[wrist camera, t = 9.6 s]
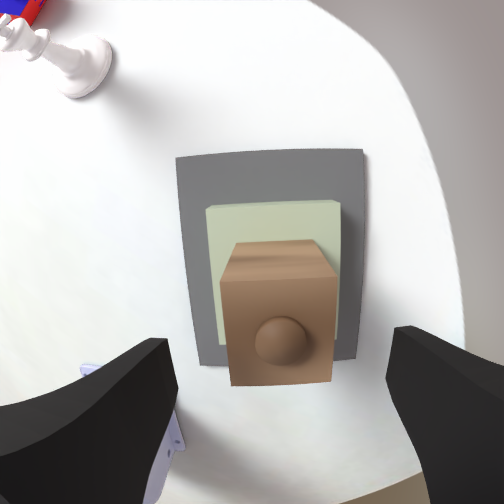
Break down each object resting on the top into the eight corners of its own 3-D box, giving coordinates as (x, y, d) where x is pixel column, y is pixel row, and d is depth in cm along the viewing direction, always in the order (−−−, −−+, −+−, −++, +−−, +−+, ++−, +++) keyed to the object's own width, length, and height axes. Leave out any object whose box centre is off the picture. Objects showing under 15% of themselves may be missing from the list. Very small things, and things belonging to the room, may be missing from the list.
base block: (330, 324, 19) (336, 339, 17) (223, 328, 20) (219, 344, 18) (332, 199, 17) (340, 203, 15) (212, 205, 18) (205, 209, 16)
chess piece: (50, 69, 16) (-44, 39, 6) (97, 25, 15) (15, -31, 6) (71, 111, 17) (-35, 91, 7) (123, 65, 16) (30, 8, 6)
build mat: (353, 354, 20) (355, 358, 20) (201, 361, 21) (200, 365, 21) (360, 149, 17) (362, 149, 16) (177, 158, 18) (175, 157, 17)
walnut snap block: (312, 316, 17) (332, 389, 11) (242, 320, 17) (230, 393, 11) (312, 239, 16) (340, 281, 10) (236, 242, 16) (217, 287, 10)
